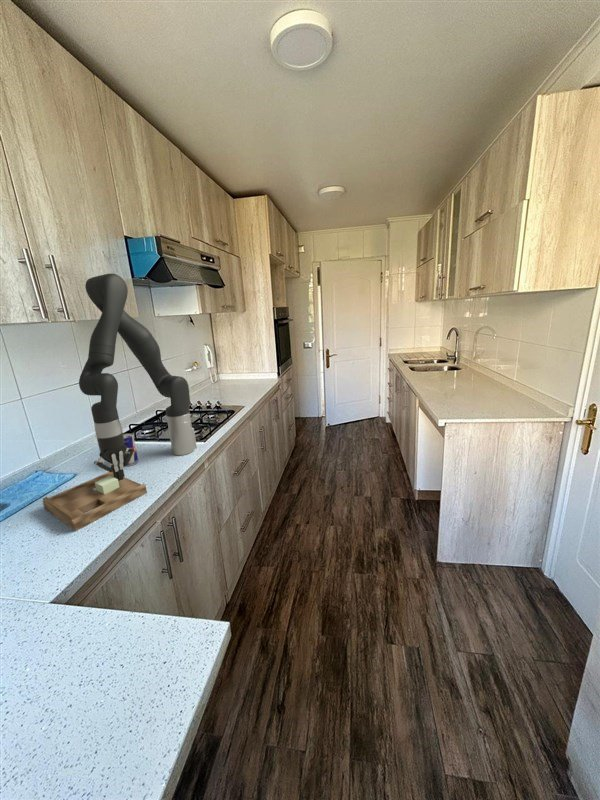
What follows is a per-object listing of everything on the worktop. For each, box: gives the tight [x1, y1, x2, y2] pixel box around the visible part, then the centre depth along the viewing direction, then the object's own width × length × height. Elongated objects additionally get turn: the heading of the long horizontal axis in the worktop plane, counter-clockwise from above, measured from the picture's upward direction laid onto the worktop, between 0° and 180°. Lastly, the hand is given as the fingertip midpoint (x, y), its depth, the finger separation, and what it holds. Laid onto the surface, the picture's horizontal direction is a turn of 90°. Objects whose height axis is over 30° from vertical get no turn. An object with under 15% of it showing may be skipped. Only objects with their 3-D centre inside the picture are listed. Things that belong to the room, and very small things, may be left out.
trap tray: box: [42, 471, 148, 532], centre depth 105 cm, size 22×20×4 cm
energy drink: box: [123, 433, 139, 467], centre depth 129 cm, size 5×5×12 cm
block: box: [95, 476, 119, 494], centre depth 107 cm, size 5×5×3 cm
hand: (119, 479), depth 111 cm, fingers closed
